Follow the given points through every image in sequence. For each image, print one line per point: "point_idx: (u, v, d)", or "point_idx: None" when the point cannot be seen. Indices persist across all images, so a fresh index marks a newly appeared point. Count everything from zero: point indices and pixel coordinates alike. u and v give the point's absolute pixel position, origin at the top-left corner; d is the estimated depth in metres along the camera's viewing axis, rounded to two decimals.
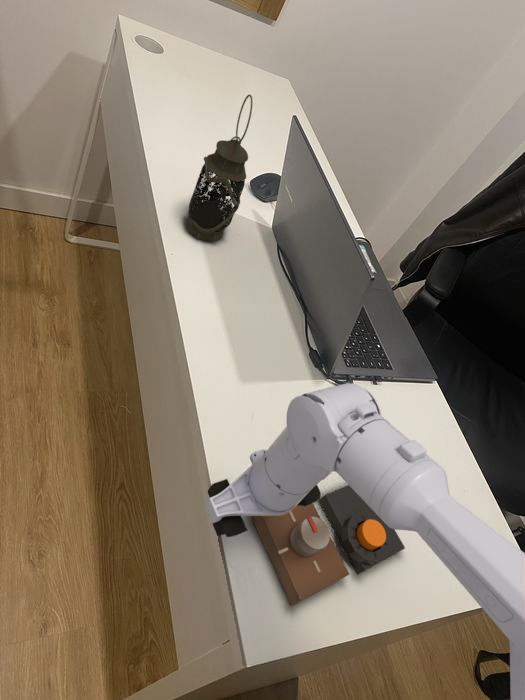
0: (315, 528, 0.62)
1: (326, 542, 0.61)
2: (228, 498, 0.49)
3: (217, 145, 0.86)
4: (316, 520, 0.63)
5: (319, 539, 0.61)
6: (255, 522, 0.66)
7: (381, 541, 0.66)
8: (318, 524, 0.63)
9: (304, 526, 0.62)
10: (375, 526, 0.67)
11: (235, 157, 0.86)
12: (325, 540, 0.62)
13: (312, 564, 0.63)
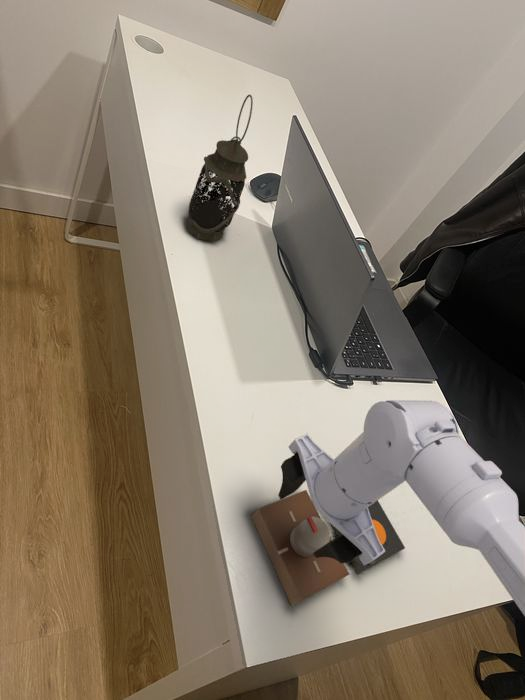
0: (315, 528, 0.62)
1: (326, 542, 0.61)
2: None
3: (217, 145, 0.86)
4: (316, 520, 0.63)
5: (319, 539, 0.61)
6: (255, 522, 0.66)
7: (381, 541, 0.66)
8: (318, 524, 0.63)
9: (304, 526, 0.62)
10: (375, 526, 0.67)
11: (235, 157, 0.86)
12: (325, 540, 0.62)
13: (312, 564, 0.63)
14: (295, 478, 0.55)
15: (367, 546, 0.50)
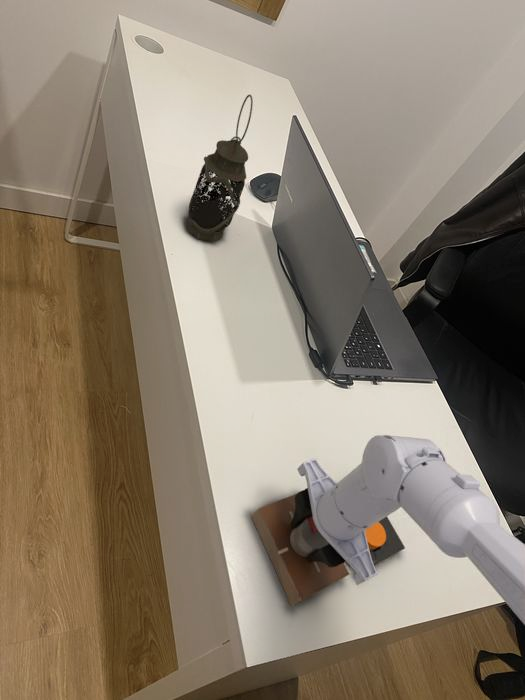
0: (315, 528, 0.62)
1: (326, 542, 0.61)
2: None
3: (217, 145, 0.86)
4: None
5: (319, 539, 0.61)
6: (255, 522, 0.66)
7: (381, 541, 0.66)
8: None
9: (304, 526, 0.62)
10: (375, 526, 0.67)
11: (235, 157, 0.86)
12: (325, 540, 0.62)
13: (312, 564, 0.63)
14: (306, 510, 0.59)
15: (361, 567, 0.55)
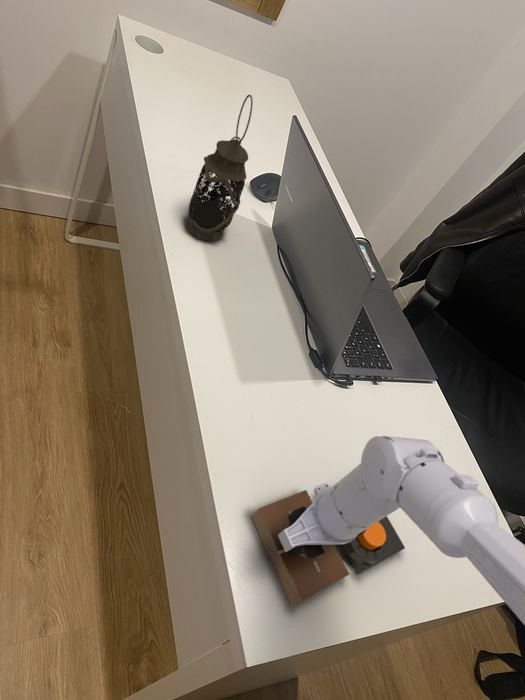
0: None
1: None
2: (299, 529, 0.55)
3: (217, 145, 0.86)
4: None
5: None
6: (255, 522, 0.66)
7: (381, 541, 0.66)
8: None
9: None
10: (375, 526, 0.67)
11: (235, 157, 0.86)
12: None
13: (312, 564, 0.63)
14: (321, 546, 0.57)
15: None
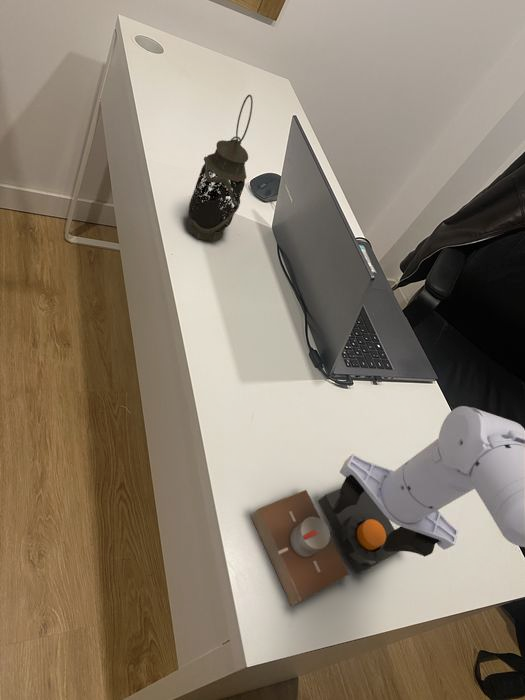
0: (314, 532, 0.61)
1: (322, 522, 0.63)
2: (364, 469, 0.57)
3: (217, 145, 0.86)
4: (304, 529, 0.61)
5: (321, 529, 0.62)
6: (255, 522, 0.66)
7: (381, 541, 0.66)
8: (307, 527, 0.62)
9: (312, 544, 0.61)
10: (375, 526, 0.67)
11: (235, 157, 0.86)
12: (320, 523, 0.63)
13: (312, 564, 0.63)
14: (358, 499, 0.56)
15: (443, 534, 0.55)
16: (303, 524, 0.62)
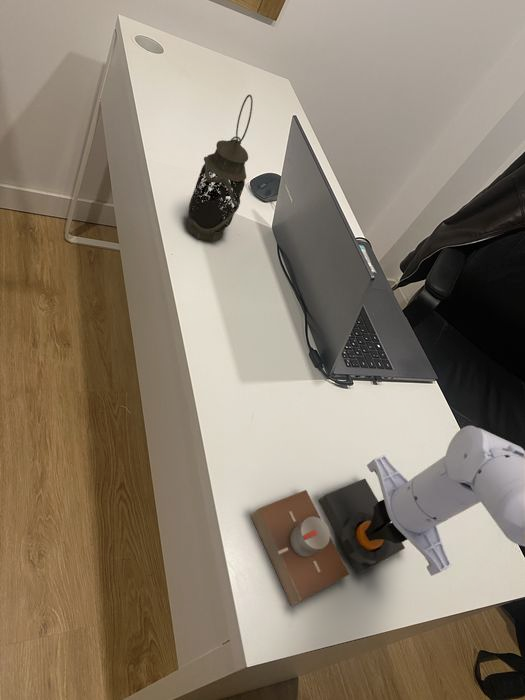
0: (314, 532, 0.61)
1: (322, 522, 0.63)
2: None
3: (217, 145, 0.86)
4: (304, 529, 0.61)
5: (321, 529, 0.62)
6: (255, 522, 0.66)
7: (379, 542, 0.66)
8: (307, 527, 0.62)
9: (312, 544, 0.61)
10: None
11: (235, 157, 0.86)
12: (320, 523, 0.63)
13: (312, 564, 0.63)
14: (387, 519, 0.61)
15: (435, 559, 0.58)
16: (303, 524, 0.62)
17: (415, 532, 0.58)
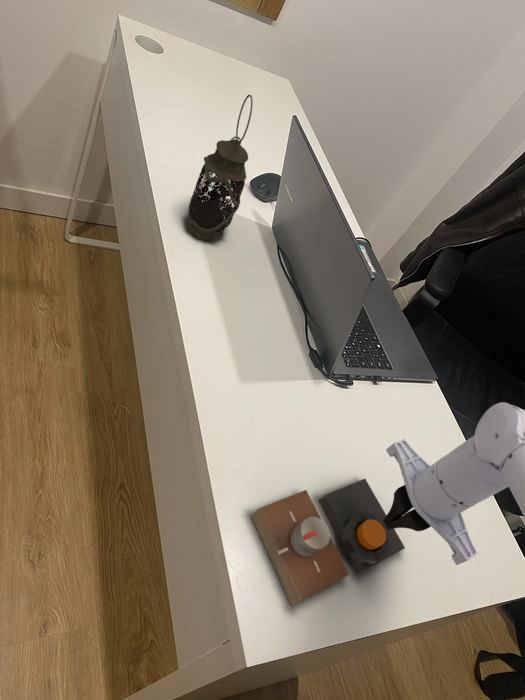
0: (314, 532, 0.61)
1: (322, 522, 0.63)
2: None
3: (217, 145, 0.86)
4: (304, 529, 0.61)
5: (321, 529, 0.62)
6: (255, 522, 0.66)
7: (381, 541, 0.66)
8: (307, 527, 0.62)
9: (312, 544, 0.61)
10: (375, 526, 0.67)
11: (235, 157, 0.86)
12: (320, 523, 0.63)
13: (312, 564, 0.63)
14: (408, 506, 0.57)
15: (461, 547, 0.54)
16: (303, 524, 0.62)
17: (439, 519, 0.55)
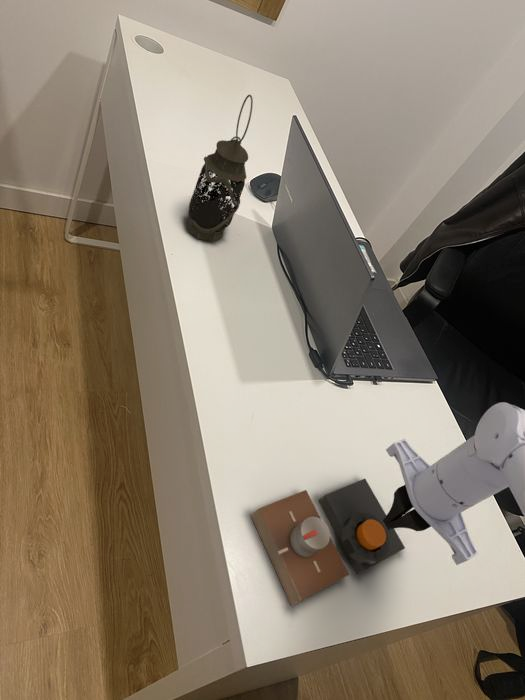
0: (314, 532, 0.61)
1: (322, 522, 0.63)
2: None
3: (217, 145, 0.86)
4: (304, 529, 0.61)
5: (321, 529, 0.62)
6: (255, 522, 0.66)
7: (381, 541, 0.66)
8: (307, 527, 0.62)
9: (312, 544, 0.61)
10: (375, 526, 0.67)
11: (235, 157, 0.86)
12: (320, 523, 0.63)
13: (312, 564, 0.63)
14: (408, 506, 0.57)
15: (461, 547, 0.54)
16: (303, 524, 0.62)
17: (439, 519, 0.55)
